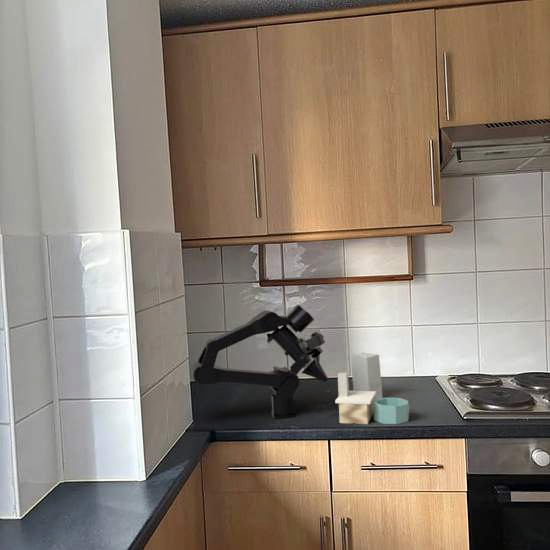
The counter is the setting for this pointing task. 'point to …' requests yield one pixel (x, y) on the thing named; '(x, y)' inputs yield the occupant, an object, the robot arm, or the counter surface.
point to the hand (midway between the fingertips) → (327, 380)
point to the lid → (352, 393)
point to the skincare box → (366, 373)
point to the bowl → (391, 410)
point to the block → (355, 413)
